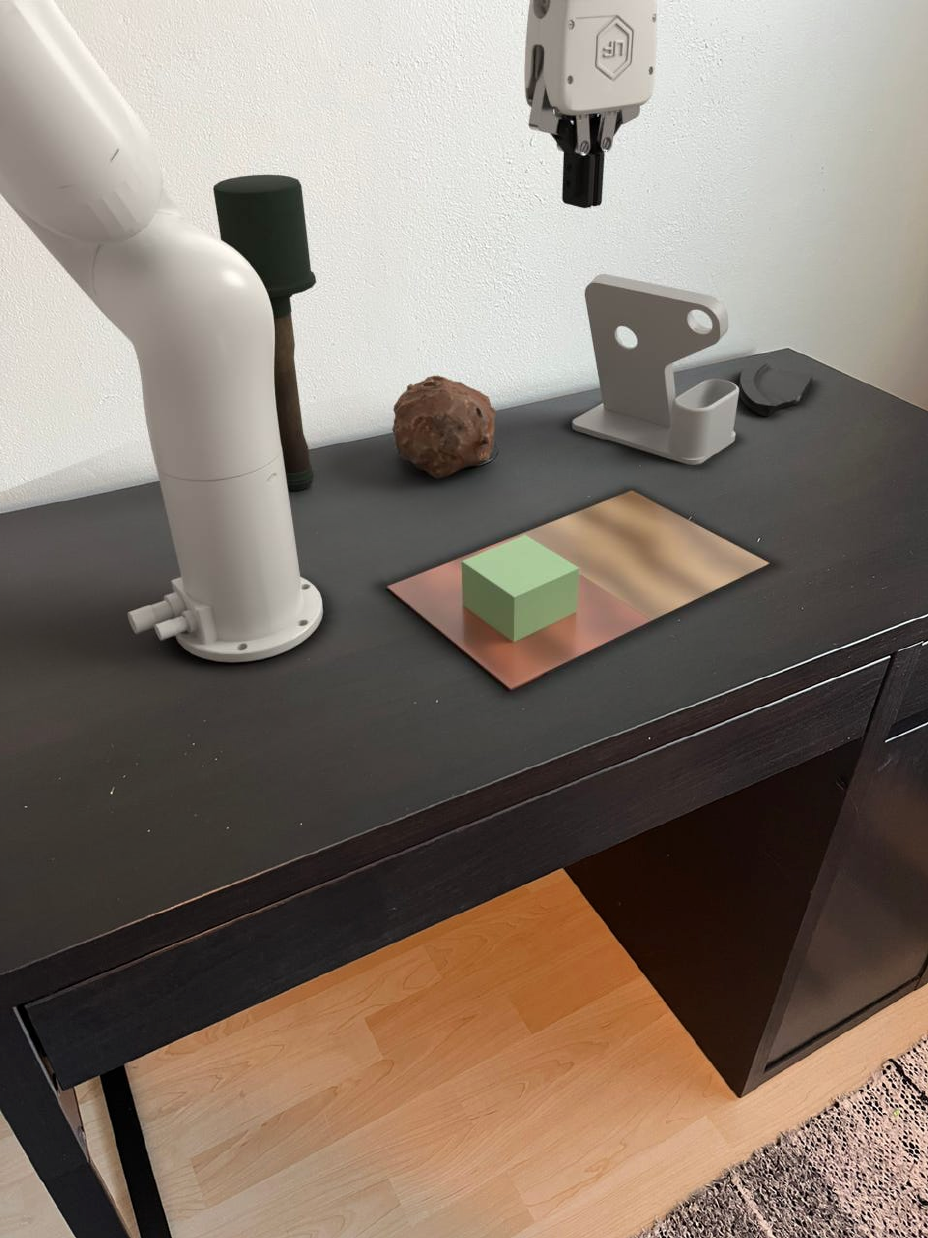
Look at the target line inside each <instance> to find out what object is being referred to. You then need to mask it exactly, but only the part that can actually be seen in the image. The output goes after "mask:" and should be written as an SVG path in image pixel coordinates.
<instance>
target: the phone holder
mask: <svg viewBox="0 0 928 1238" xmlns="http://www.w3.org/2000/svg"><path fill="white" fill-rule="evenodd" d="M584 301H585V305H586V306H585V307H586V311H587V317H588V323H589V330H590V336H591V341H592V347H593V353H594V359H595V364H596V369H597V376H598V382H599V388H600V393H601V399H602V403H600V404H599V405H597V406H595V407H593V408H591V409H589V410H588V411H586V412H584V413H583V414H580V415H579V416H577V417H575V418H574V419H573V420H572V423H571V425H572V429H573V431H575V432H578V433H582V434H585V435H587V436H591V437H593V438H598V439H600V440H603V441H605V440H608V441H611V442H615V443H618V444H620V445H624V446H627V447H630V448H633V449H637V450H640V451H643V452H647V453H650V454H652V455H653V454H654V455H655V456H656V455H657V456H660V457H662V458H666V459H669V460H673V461H675V462H678V463H681V464H685V465H691V466H692V465H694V466H695V465H701V464H702V463H704V462H706V460H708V459H709V458H712V456H714V455H715V454H718V453H720V452H721V451H722V450H724V449H725V448H727V447H728V446H730V445H731V444H732V443H734V442H735V440H736V431H734V428H735V420H736V414H737V407H738V400H739V396H740V395H739V385H737V384H735V383H734V382H731V381H729V380H725V379H707V380H704V381H702V382H700V383H698V384H696V385H695V386H693V387H691V388H689V389H688V390H687V391H684V392H683V393H681V394H680V395H678V396H676V387H675V375H674V366H673V365H674V364H673V363H675V362H677V361H681V360H682V359H685V358H687V357H690V356H692V355H694V354H697V353H699V352H701V351H703V350H705V349H709V348H710V347H712V346H714V345H717V344H718V343H719V342H720V340H721V339H722V338H723V337H724V336H725V335H726V333H727V332H728V330H729V314H728V311H727V309H726V307H725V305H724V304H723V303H722V302H721V301H720V300H719V299H717V297H714V296H713V295H709V294H705V293H700V292H695V291H691V290H686V289H681V288H677V287H672V286H666V285H662V284H657V283H651V282H646V281H642V280H637V279H632V278H627V277H622V276H617V275H611V274H607V273H601V274H598V275H597V276H595V277H594V278H593V279H592V281H590V282H589V283H588V285H586V287H585V289H584ZM693 311H701V312H702V313H705V315H707V316H708V317H709V319H710V321H711V325H712V326H711V328H709V327H705V326H703V325H701V323H700V322H698V321H697V320H696V318H695V316H694V315H693ZM619 327H625V328H627V329H629V330H630V331H631V332H633V334H634V335H635V337H636V342H637V344H636V346H633V347H629V346H627V345H625V344H623V340H621V338H620V337H619V335H618V328H619Z"/></svg>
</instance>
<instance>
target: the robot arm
mask: <svg viewBox="0 0 928 1238" xmlns="http://www.w3.org/2000/svg"><path fill="white" fill-rule="evenodd" d="M527 11H528V12H527V22H526V30H525V31H526V33H525V47H524V68H523V69H524V71H523V72H524V75H523V77H524V78H523V80H524V94H525V95H524V96H525V101H526V104H527V106H528V107H530V112H529V118H528V127H529V129H530V130H532V131H535V132H542V133H546V134H549V135H550V136H551V137H552V139H553V140H554V141H555V142H556V149H557V150H558V151H559V152H563V158H562V159H563V160H562V161H563V163H562V185H561V186H562V187H561V188H562V189H561V199H562V202H563V204H566V205H569V206H574V207H577V208H582V209H589V208H591V207H598V206H601V205H602V202H603V189H604V188H603V187H604V173H605V172H604V171H605V156H606V154H605V153H608V152H609V151H611V149H612V147H613V143H614V142H613V141H614V137H615V135H616V134H617V132H618V130H619V129H620V128H621V126H622V125H625V124H627V123H630V122H631V121H633V120H635V119H637V118H638V117H639V115H640V113H641V106H643V105H645V104H646V103H647V102H649V101H650V99H652V96H653V94H654V87H655V81H656V79H655V77H656V64H657V43H658V42H657V40H658V39H657V38H658V37H657V36H658V3H657V0H529V4H528V10H527ZM126 100H127V99H125V98H124V96H123V95H122V94H121V92H120V91H119V90H118V88H117V87H116V86H115V85H114V83H113V82H112V81H111V79H110V77H109V76H108V75H107V74H106V73H105V71H104V70H103V68H102V67H101V66H100V64H99V62H98V61H97V60H96V58H95V57H94V56H93V54H92V52H91V51H90V50H89V48H88V47H87V46H86V45H85V43H84V41H83V40H82V39H81V37H80V36H79V34H78V33H77V31H76V30H75V29H74V27H73V26H72V25H71V23H70V22H69V20H68V19H67V18H66V16H65V15H64V14H63V12H62V10H61V9H60V8H59V6H58V4H57V3H56V1H55V0H0V195H1V197H2V198H3V199H4V200H5V201H6V203H7V204H8V205H9V206H10V208H12V210H13V211H14V212H15V213H16V214H17V216H18V217H19V218H20V219H21V220H22V221H23V222H24V224H25V225H26V227H28V229H30V231H31V232H32V233H33V234H34V235H35V237H36V238H37V239H38V240H39V241H40V242H41V244H42V245H43V246H44V247H45V248H46V249H47V251H48V252H49V253H50V255H52V257H53V258H54V259H55V260H56V262H58V264H59V265H60V266H61V267H62V268H63V269H64V270H65V272H66V273H67V274H68V275H69V276H70V278H72V280H73V281H74V283H76V284H77V285H78V286H79V288H80V289H81V290H82V291H83V292H84V293H85V294H86V296H87V297H88V298H89V299H90V301H92V302H93V304H94V305H95V306H96V307H97V308H98V309H99V310H100V312H101V313H102V314H103V315H104V317H106V318H107V319H108V320H109V321H110V322H111V324H113V326H115V327H116V328H117V329H118V330H119V331H120V332H121V333H122V334H123V335H124V336H125V338H126V339H127V340H128V341H129V342H130V343H131V344H132V346H133V349H134V351H135V355H136V359H137V361H138V367H139V371H140V372H139V373H140V378H141V379H140V380H141V388H142V389H141V390H142V400H143V410H144V416H145V417H144V418H145V423H146V429H147V433H148V439H149V444H150V448H151V452H152V458H153V462H154V465H155V468H156V472H157V477H158V480H159V485H160V486H159V487H160V491H161V494H162V498H163V503H164V508H165V512H166V516H167V521H168V525H169V529H170V530H169V531H170V534H171V538H172V543H173V548H174V551H175V557H176V561H177V564H178V565H177V566H178V569H179V574H180V576H179V577H177V578H174V579H172V580H171V585H172V590H173V592H171V593H169V594H165V595H164V596H163V600H162V601H159V602H156V603H153V604H151V605H150V604H148V605H144V606H142V607H140V608H137V609H134V610H131V611H128V612H127V618H128V622H129V625H130V626H131V628H132V631H133V632H134V634H136V635H140V634H143V633H145V632H148V631H150V630H153V629H154V631H155V633H156V635H157V638H158V639H159V641H164V640H165V641H166V640H167V639H170V638H173V637H175V639H176V642H177V643H178V644H179V645H180V646H181V647H182V648H183V649H184V650H186V651H187V652H189V653H190V654H192V655H194V656H196V657H199V658H202V659H205V660H209V661H214V662H220V663H221V662H222V663H248V662H253V661H260V660H265V659H268V658H272V657H274V656H277V655H281V654H282V653H286V652H288V651H290V650H291V649H293V648H295V647H297V646H298V645H300V644H302V643H303V642H304V641H306V640H307V639H308V638H309V637H311V636H312V634H313V633H314V632H315V631H316V630H317V629H318V627H319V626H320V623H321V621H322V619H323V614H324V608H323V599H322V596H321V593H320V591H319V590H318V588H317V587H316V586H315V584H313V583H312V582H311V581H309V580H308V579H306V578H305V577H302V576H301V573H300V567H299V566H300V565H299V558H298V553H297V552H298V551H297V545H296V538H295V531H294V523H293V516H292V509H291V503H290V501H291V500H290V496H289V495H290V494H289V490H288V487H287V480H286V473H285V466H284V459H283V451H282V446H281V440H280V433H279V426H278V418H277V410H276V400H275V387H274V348H275V330H274V318H273V311H272V307H271V303H270V299H269V296H268V294H267V291H266V289H265V287H264V285H263V283H262V281H261V279H260V277H259V275H258V274H257V273H256V271H255V270H254V269H253V267H252V266H251V265H250V263H249V262H248V261H247V260H246V259H245V258H244V257H243V256H242V255H241V254H240V253H239V252H238V251H236V250H235V249H234V248H232V247H231V246H230V245H228V244H227V243H225V242H224V241H222V240H221V238H218V237H216V236H215V235H213V234H211V233H209V232H208V231H205V230H204V229H202V228H200V227H198V226H196V225H194V224H193V223H191V222H190V221H189V220H188V219H187V218H186V217H185V216H184V214H183V212H181V211H180V209H179V207H178V206H177V205H176V204H175V202H174V201H173V199H172V198H171V196H170V195H169V194H168V192H167V191H166V190H165V188H164V185H163V181H164V180H163V170H162V164H161V159H160V156H159V154H158V151H157V148H156V145H155V143H154V140H153V138H152V135H150V133H149V131H148V129H147V128H146V126H145V124H144V122H143V121H142V119H141V118H140V116H139V115H138V114H137V113H136V111H135V110H134V109H133V108H132V106H131V105H130V104H129V102H128V101H126Z"/></svg>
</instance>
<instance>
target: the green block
mask: <svg viewBox="0 0 928 1238" xmlns="http://www.w3.org/2000/svg"><path fill="white" fill-rule="evenodd" d="M578 582H579V567H577V566H575V565H574V564H572V563H570V562H569V561H567V560H566V559H564V558H562V557H561V556H559V555H557V554H556V553H554V552H552V551H551V550H549V549H548V548H546V547H544V546H543V545H541V544H539V543H538V542H536V541H535V540H533V539H531V538H530V537H528V536H526V535H524V536H521V537H519V538H516V539H514V540H511V541H509V542H507V543H504V544H502V545H499V546H497V547H494V548H492V549H490V550H487V551H485V552H482V553H480V554H478V555H475V556H473V557H470V558H468V559H465V560H463V561H462V600H463V606H465V607H466V608H467V609H469V610H470V611H472V612H473V613H474V614H476V615H477V616H478V617H480V618H481V619H482V620H484V621H485V622H486V623H488V624H489V625H491V626H492V627H493V628H495V629H496V630H497V631H499V632H500V633H501V634H503V635H504V636H505V637H507V638H508V639H509V640H511V641H512V642H516V641H518V640H520V639H522V638H524V637H526V636H528V635H530V634H532V633H534V632H537V631H539V630H541V629H543V628H545V627H547V626H549V625H551V624H553V623H555V622H557V621H559V620H562V619H564V618H566V617H568V616H570V615H572V614H574V613H576V612H577V599H578Z"/></svg>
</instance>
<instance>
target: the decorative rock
mask: <svg viewBox="0 0 928 1238" xmlns="http://www.w3.org/2000/svg"><path fill="white" fill-rule="evenodd" d="M392 410H393V413H394V417H395V418H394V420H393V425H392V429H391V430H392V433H393V436H394V439H395V442H394V443H395V447H396V449H397V453H398V454H397V455H400V456H401V458H402V459H404V460H406V461H408V462H410V463H411V464H413V465H414V466H415V467H417V468H418V469H419V470H420V471H423V470H424V471H426V472H427V473H428V474H429V475H431V476H432V477H434V479H442V478H446V477H449V476H450V475H452V474H454V473H456V472H458V471H460V470H463V469H465V468H469V467H472V466H478V465H483V464H484V463H486V462H489V460H490V457H491V453H492V451H493V449H494V446H495V439H494V432H495V419H496V417H497V411H496V409H495V408H494V407H492V403H491V400H490V397H489V396H488V395H486V394H484V393H482V392H481V391H480V390H477V389H476V388H472V387H470V386H468V385H466V384H464V383H463V382H461V381H453V380H452V379H448V378H447V377H444V376H441V375H432V376H428V377H426V378H425V379H424V380H422V381H420V382H416V383H414V384H413V383H409V384H408V385H407V386H406V390H405V391H404V392H402V394H401V395H400V396H399V397H398V399H397V400H396V402H395V404H394V405H393V409H392Z"/></svg>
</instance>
